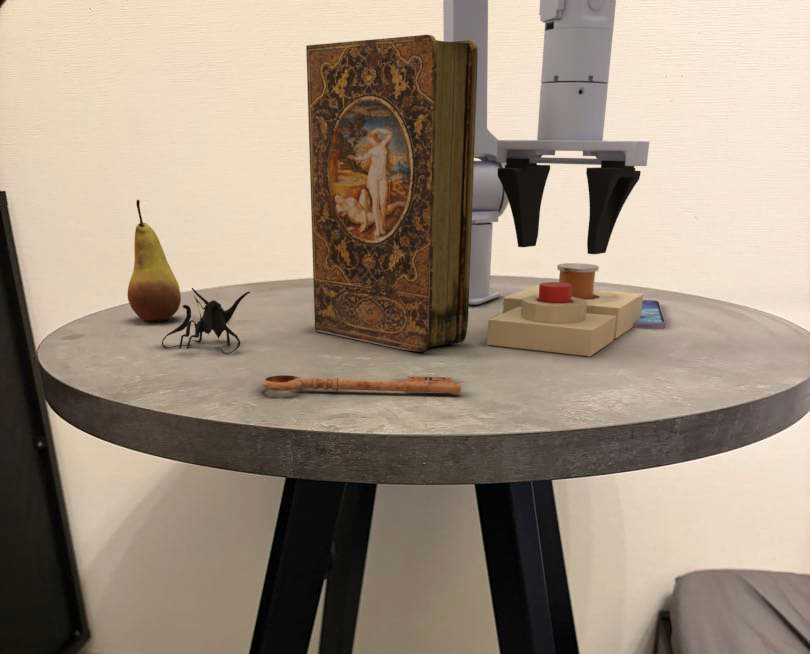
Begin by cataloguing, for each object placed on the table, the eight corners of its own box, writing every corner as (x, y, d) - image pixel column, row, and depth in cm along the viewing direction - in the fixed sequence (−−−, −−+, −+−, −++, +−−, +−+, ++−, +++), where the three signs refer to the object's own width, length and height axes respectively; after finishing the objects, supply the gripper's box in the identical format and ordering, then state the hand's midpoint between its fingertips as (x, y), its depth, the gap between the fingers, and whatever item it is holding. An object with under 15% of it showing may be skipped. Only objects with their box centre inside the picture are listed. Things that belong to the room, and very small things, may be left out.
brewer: (501, 327, 90) (503, 297, 89) (534, 312, 98) (536, 284, 97) (616, 339, 85) (619, 307, 84) (640, 322, 93) (643, 293, 92)
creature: (226, 370, 76) (266, 334, 82) (215, 312, 73) (257, 278, 79) (149, 363, 78) (193, 328, 84) (135, 306, 75) (181, 273, 81)
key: (459, 385, 69) (272, 379, 70) (460, 374, 69) (272, 368, 69) (460, 399, 64) (257, 392, 64) (461, 386, 63) (257, 380, 64)
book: (306, 329, 88) (296, 46, 77) (346, 322, 91) (341, 51, 81) (428, 355, 78) (435, 33, 67) (466, 346, 81) (479, 39, 71)
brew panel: (486, 344, 82) (489, 301, 80) (516, 330, 88) (519, 290, 87) (590, 356, 78) (594, 311, 76) (613, 340, 84) (618, 298, 83)
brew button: (533, 304, 81) (535, 285, 80) (544, 300, 83) (545, 281, 83) (564, 307, 80) (566, 287, 79) (574, 302, 82) (576, 283, 81)
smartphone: (593, 321, 91) (596, 299, 105) (593, 330, 92) (595, 307, 105) (666, 323, 90) (659, 300, 103) (665, 332, 90) (658, 308, 104)
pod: (549, 326, 90) (554, 267, 88) (556, 320, 94) (561, 262, 92) (589, 329, 89) (595, 269, 87) (595, 322, 93) (601, 264, 90)
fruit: (196, 319, 92) (185, 197, 87) (152, 327, 88) (138, 200, 83) (161, 313, 95) (149, 195, 90) (117, 320, 91) (102, 197, 86)
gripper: (673, 84, 73) (652, 253, 79) (531, 89, 82) (521, 240, 87) (632, 79, 68) (613, 259, 74) (485, 85, 77) (478, 245, 83)
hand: (560, 249), depth 80 cm, fingers open, 7 cm apart
